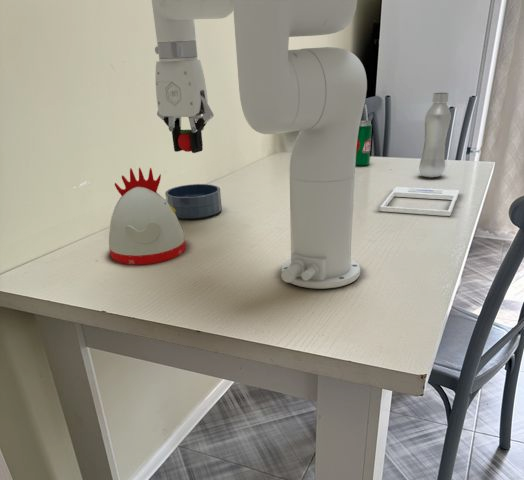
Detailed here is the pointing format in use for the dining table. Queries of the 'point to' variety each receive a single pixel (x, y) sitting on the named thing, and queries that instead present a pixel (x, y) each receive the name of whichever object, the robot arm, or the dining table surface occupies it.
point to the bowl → (194, 200)
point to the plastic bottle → (435, 137)
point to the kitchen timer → (144, 224)
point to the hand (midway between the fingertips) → (188, 150)
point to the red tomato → (185, 140)
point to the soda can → (363, 143)
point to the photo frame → (421, 194)
